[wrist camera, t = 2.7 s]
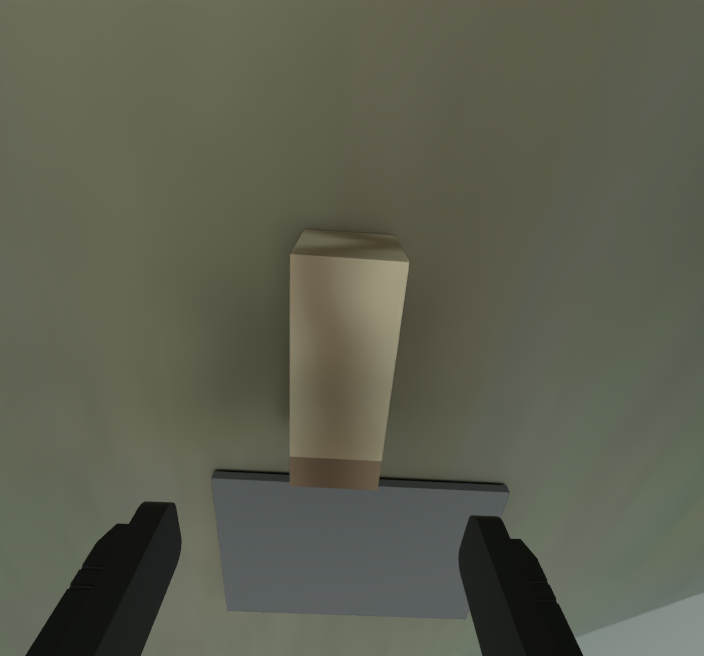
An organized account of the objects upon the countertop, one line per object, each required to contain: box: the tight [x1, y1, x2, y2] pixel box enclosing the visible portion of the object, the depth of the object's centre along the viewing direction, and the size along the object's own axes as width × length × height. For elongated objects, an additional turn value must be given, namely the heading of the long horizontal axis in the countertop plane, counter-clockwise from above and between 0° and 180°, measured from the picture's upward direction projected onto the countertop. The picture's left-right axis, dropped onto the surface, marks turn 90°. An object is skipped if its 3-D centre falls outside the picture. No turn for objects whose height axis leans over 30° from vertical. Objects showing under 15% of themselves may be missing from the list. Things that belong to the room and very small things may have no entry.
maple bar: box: [290, 229, 409, 490], centre depth 19 cm, size 4×12×5 cm, turn 176°
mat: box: [212, 471, 510, 619], centre depth 29 cm, size 20×15×1 cm
